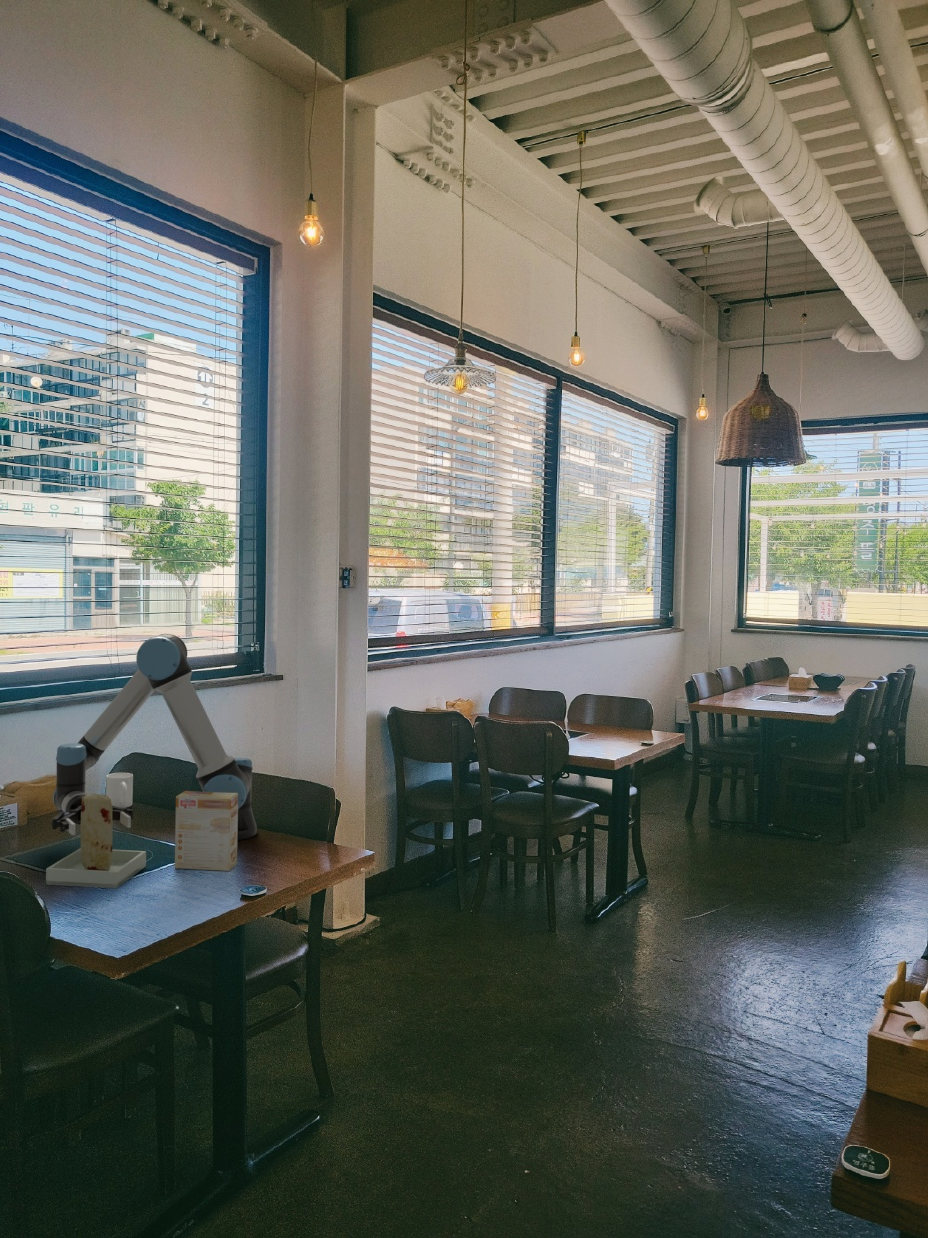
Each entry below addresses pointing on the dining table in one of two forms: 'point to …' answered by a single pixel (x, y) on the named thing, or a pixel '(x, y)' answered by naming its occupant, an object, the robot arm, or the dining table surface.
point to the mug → (120, 789)
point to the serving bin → (75, 874)
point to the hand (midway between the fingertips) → (102, 826)
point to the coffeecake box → (206, 830)
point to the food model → (96, 832)
